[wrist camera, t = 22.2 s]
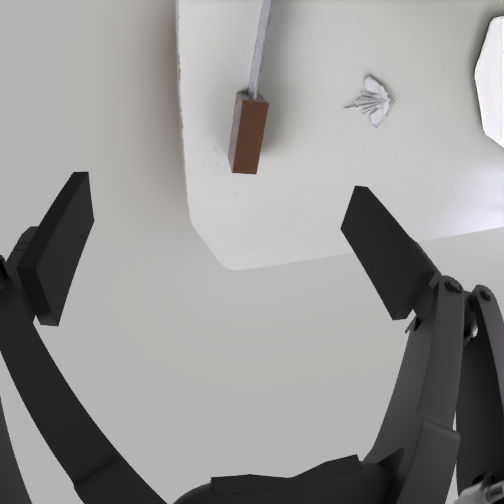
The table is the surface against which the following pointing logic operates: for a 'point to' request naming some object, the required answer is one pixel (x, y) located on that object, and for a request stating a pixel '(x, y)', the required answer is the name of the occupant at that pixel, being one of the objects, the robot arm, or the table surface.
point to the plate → (492, 81)
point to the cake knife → (250, 109)
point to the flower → (374, 101)
